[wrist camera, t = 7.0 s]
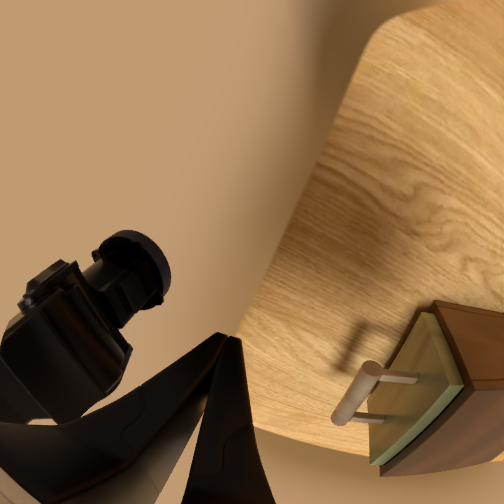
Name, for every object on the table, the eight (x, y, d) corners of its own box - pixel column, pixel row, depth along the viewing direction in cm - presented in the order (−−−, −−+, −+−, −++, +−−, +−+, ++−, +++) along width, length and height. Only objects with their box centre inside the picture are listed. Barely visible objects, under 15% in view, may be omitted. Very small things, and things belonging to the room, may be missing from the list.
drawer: (323, 395, 22) (318, 462, 16) (368, 301, 17) (383, 381, 11) (465, 403, 20) (479, 454, 14) (522, 328, 15) (553, 380, 9)
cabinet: (375, 397, 22) (379, 477, 15) (434, 299, 17) (475, 390, 10) (474, 400, 21) (490, 461, 13) (533, 318, 15) (571, 380, 8)
